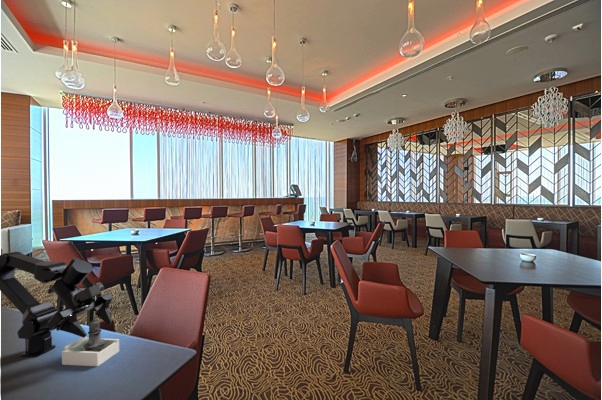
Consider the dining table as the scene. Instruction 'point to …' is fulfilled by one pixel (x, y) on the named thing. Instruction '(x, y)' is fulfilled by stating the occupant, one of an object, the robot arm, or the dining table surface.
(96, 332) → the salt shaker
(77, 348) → the bar
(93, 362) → the box
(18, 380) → the dining table surface
